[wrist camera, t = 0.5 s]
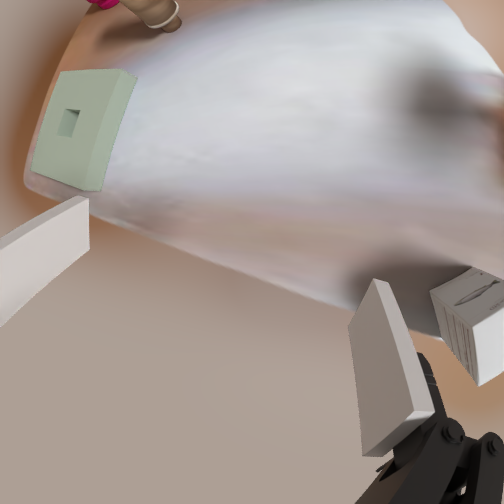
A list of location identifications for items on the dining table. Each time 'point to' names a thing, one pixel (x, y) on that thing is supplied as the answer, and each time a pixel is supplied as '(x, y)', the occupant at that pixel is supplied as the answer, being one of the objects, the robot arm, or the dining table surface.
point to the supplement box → (473, 321)
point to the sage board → (82, 126)
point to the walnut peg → (156, 13)
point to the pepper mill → (104, 3)
